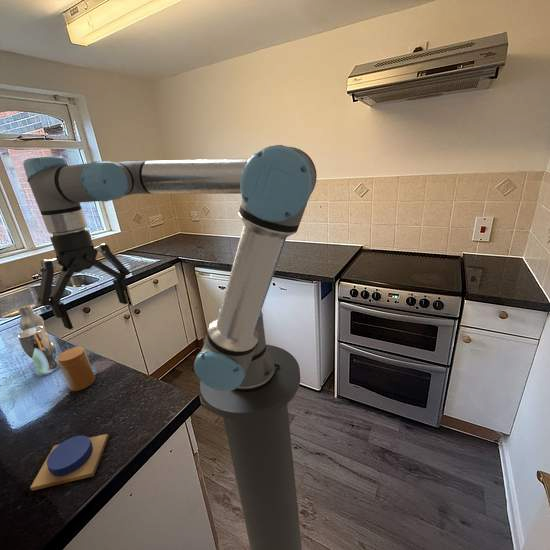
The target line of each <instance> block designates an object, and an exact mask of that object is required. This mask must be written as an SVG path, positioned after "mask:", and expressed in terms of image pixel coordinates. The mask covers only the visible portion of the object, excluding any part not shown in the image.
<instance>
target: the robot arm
mask: <svg viewBox="0 0 550 550" xmlns="http://www.w3.org/2000/svg"><path fill="white" fill-rule="evenodd" d="M22 163H23V169H24V172H25V176H26V179H27V180H26V181H27V183H28V185H29V186H30V189H31V192H32V195H33V197H34V200H35V202H36V205H37V207H38V210H39V212H40V214H41V218H42V221H43V223H44V225H45V228H46V230H47V233H49V234H51V235H50V236H49V239H50V242H51V244H52V247H53V250H54V252H55V255H56V256H55V258H52V259H41V261H40V265H41V268H42V274H41V278H40V285H39V291H38V297H37V301H36V302H37V304H38V305H40V306H42V307H47V306H50V308H51V311H52V313H53V315H54V316H55V318H58V319H61V322H62V324H63V327H64V328H65V329H67V330H73V329H74V326H73V323H72V321H71V319H70V316H69V314H68V311H67V308H66V306H65V304H64V302H61V299H62V297H63V295H64V292H65V291H66V289H67V287H68V284H69V282H70V279H71V278H72V277H73V276H74V273H81V272H82V271H85V270H90V269H92V268H93V267H95V268H97V269H99V270H100V271H102V272H104V273H106V274H108V275H109V276H111V277H113V278H114V279H112V283H113V286H114V289H115V293H116V297H117V299H118V302H119V304H122V305H128V304H129V302H128V299H127V296H126V293H125V291H127V285H126V282H125V280H126V276H129V275H130V273H131V272H130V270H129V269H128V268H127V267H126V266H125V265H124V264H123V263H122V262H121V261H120V260H119V259H118V257H116V256H115V255H114V253H113V252H112V251H111V249H110V247H109V245H108V244H106V243H99V244H98V246H94V242H93V239H92V236H91V234H90V230H89V229H88V228H87V226H88V224H87V221H86V217H85V215H84V212H83V208H82V206H81V203H93V202H95V203H96V202H103V203H104V202H105V203H106V202H109V201H110V202H111V201H116V200H120V199H122V198H123V197H127V196H131V195H132V196H133V195H149V194H150V195H152V194H184V195H185V194H187V195H190V194H192V195H193V194H195V195H197V194H198V195H199V194H201V195H202V194H204V195H205V194H207V195H208V194H212V195H215V194H216V195H217V194H218V195H221V194H222V195H238V194H239V195H241V202H240V206H239V210H238V216H239V218H240V219H241V221H242V222H243V226H242V230H241V234H240V238H239V241H238V244H237V248H236V252H235V255H234V259H233V263H232V265H231V270H230V274H229V278H228V281H227V286H226V289H225V292H224V297H223V299H222V302H221V306H220V308H219V310H218V316H217V318H216V319H213V320H212V321H211V322H210V324H209V325H208V329H207V333H206V336H205V339H204V343H203V346H202V347H201V350H200V351H199V353H198V354H197V355H196V357H195V360H194V362H193V370H194V374H195V375H196V377H197V378H198V379H199V380H200V379H201V381H202V382H203V383H204V384H205V385H207V386H208V387H210V388H213V389H215V390H219V391H228V390H236V391H241V392H249V391H255V390H258V389H260V388H263V387H264V386H266V385H267V384H269V383H270V382H271V381H272V379H273V378H274V375H275V367H280V365H279V364H275V363H274V362H273V360H272V358H271V356H270V354H269V352H268V350H267V349H266V345H267V343H266V336H265V335H266V333H265V325H264V313H263V312H262V310H263V306H264V304H265V301H266V298H267V295H268V292H269V289H270V287H271V283H272V281H273V278H274V275H275V272H276V269H277V267H278V263H279V260H280V258H281V255H282V253H283V249H284V246H285V243H286V240H287V238H288V237H290V236H292V235H295V234H297V233H298V230H299V228H300V224H301V222H302V219H303V216H304V213H305V211H306V208H307V205H308V203H309V200H310V197H311V195H312V193H313V191H314V190H315V187H316V183H317V176H318V175H317V169H316V165H315V163H314V160H313V159H312V158H311V156H310V155H309V154H308V153H306V152H305V151H304V150H302V149H300V148H297V147H294V146H287V145H283V144H275V145H270V146H266V147H265V148H262V149H261V150H259V151H258V152H255V153H253V154H252V155H251V156H250V158H249V157H248V158H213V159H212V158H211V159H209V158H208V159H171V160H170V159H169V160H167V159H166V160H129V161H103V160H102V161H97V160H96V161H91V162H85V163H79V164H71V165H68V163H67V160H66V159H65V157H62V156H40V157H31V158H26V159H25V160H24V161H23V162H22ZM98 254H99V255H102V256H103V257H104V258H105V259H106V260H107V261H108V262H109V263H110V264H111V265H112V266H113V267H114V268H115V269H116V270H117V271H116V270H115V269H113V268H112V267H110V266H108V265H107V264H105V263H103V262H102V261H100V260H98V259H97V255H98ZM58 265H59V266H61V269H60V271H59V275H58V278H57V280H56V282H55V284H54V287H53V288H52V286H53V280H54V275H55V270H56V268H57V266H58Z"/></svg>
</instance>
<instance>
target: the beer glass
mask: <svg viewBox="0 0 550 550" xmlns="http://www.w3.org/2000/svg"><path fill="white" fill-rule="evenodd" d="M45 330H46V329H45ZM45 330H44V329H43V327H42V326H36V327H32V328H29V329H26V330H24V331H22V330H21V332H19V333H18V334H17V338H18V340H19V344H20V346H21V348H22V350H23V352H24V353H25V355H26V356H27V358H29V360H30V361H31V362H32V364H33V366H34V368H35V374H36V375H37V376H39V377H43V376H47V375H49V374H51V373H54V372H55V371H57V369H58V368H59V362H58V361H56V360H55V358H54V356H53V355H52V350H51V344H50V341H51V340H50V341H49V339H50V337H49V335H48V333H47V331H46V332H45ZM46 333H47V334H46ZM47 335H48V336H47ZM48 337H49V338H48Z"/></svg>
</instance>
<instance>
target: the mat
mask: <svg viewBox="0 0 550 550" xmlns="http://www.w3.org/2000/svg"><path fill="white" fill-rule="evenodd" d="M88 438H89V439H90V441H91V443H92V446H93V452H92V454H91V456H90V458H89V459H88V460H87V462H86V463H85V464H84V465H83V466H81V467H80V468H79V469H77V470H76V471H74V472H72V473H70V474H68V475H64V476H54V475H52V474H51V472H50V471H49V469H48V466H47V459H48V457H49V455H50V454H51V452H52V451H53V450H54V449H55V448H56V447H57V446H58V445H60V444H61V443H59V444H55V445H53V446H52V449H51V450H50V452H49V454H48V455H47V457H46V459H45V460H44V462H43V464H42V466H41V468H40V469H39V471H38V473H37V475H36V477H35V478H34V480H33V482H32V484H31V485H30V487H29V488H30V490H31V491H36V490H37V491H38V490H41V489H45V488H46V489H47V488H50V487H54V486H58V485H62V484H67V483H71V482H74V481H80V480H83V479H87V478H93V477H94V476H95V474H96V472H97V469H98V466H99V464H100V461H101V458H102V455H103V453H104V450H105V448H106V445H107V443H108V440H109V438H110V436H109V434H108V433H105V434H100V435H95V436H91V437H88Z"/></svg>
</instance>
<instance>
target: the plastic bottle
mask: <svg viewBox="0 0 550 550" xmlns="http://www.w3.org/2000/svg"><path fill="white" fill-rule="evenodd" d="M18 313H19V316H20V320H19V328H20V329H21V332H22V331H24V330H26V329H29V328H32V327H36V326H42V327H43V329H44V330H45V332H46V334H47V336H48V338H49V341H50V344H51V350H52V355H53V357H54V356H56V354H57V353H56V352H57V350H56V347H55V345H54V344H53V342H52V341H51V339H50V337H49V335H48V333H47V330H46V326H45V322H44V318H43V317H42V316H41V315H39V314H37V313H35V310H34V308H33V306H32V305H28V306H27V305H26V306H23V307H21V308H19V309H18Z"/></svg>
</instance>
